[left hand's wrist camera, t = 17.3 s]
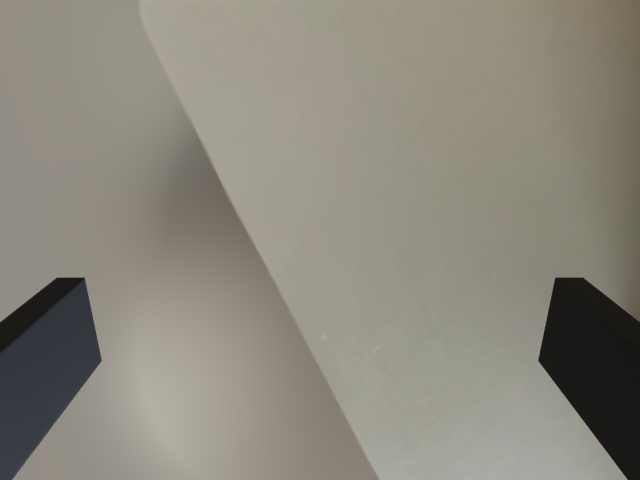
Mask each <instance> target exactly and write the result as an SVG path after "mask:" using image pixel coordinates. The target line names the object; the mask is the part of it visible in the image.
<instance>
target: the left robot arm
mask: <svg viewBox="0 0 640 480" xmlns="http://www.w3.org/2000/svg"><path fill="white" fill-rule="evenodd" d="M101 361H102V360H101V355H100V350H99V345H98V340H97V336H96V331H95V326H94V321H93V316H92V311H91V307H90V302H89V297H88V292H87V287H86V282H85V278H56V279H55V280H53V281H52V282H51V283H50V284H49V285H47V286H46V287H45V288H43V289H42V290H41V291H40V292H38V293H37V294H36V295H34V296H33V297H32V298H31V299H29V300H28V301H27V302H26V303H24V304H23V305H22V306H21V307H19V308H18V309H17V310H15V311H14V312H13V313H12V314H10V315H9V316H8V317H7V318H5V319H4V320H3V321H1V322H0V480H12V479H13V478H14V476H15V475H16V474H17V472H18V471H19V470H20V469H21V467H22V466H23V464H24V463H25V462H26V460H27V459H28V458H29V456H30V455H31V454H32V453H33V451H34V450H35V449H36V447H37V446H38V445H39V443H40V442H41V441H42V439H43V438H44V437H45V435H46V434H47V433H48V431H49V430H50V429H51V427H52V426H53V425H54V423H55V422H56V421H57V419H58V418H59V417H60V415H61V414H62V413H63V411H64V410H65V409H66V407H67V406H68V405H69V403H70V402H71V401H72V399H73V398H74V397H75V395H76V394H77V393H78V392H79V390H80V389H81V387H82V386H83V385H84V383H85V382H86V381H87V380H88V378H89V377H90V376H91V374H92V373H93V372H94V370H95V369H96V368H97V366H98V365H99V364H100V362H101ZM538 361H539V362H540V364H541V365H542V366H543V368H544V369H545V370H546V372H547V373H548V374H549V376H550V377H551V378H552V380H553V381H554V382H555V384H556V385H557V386H558V388H559V389H560V390H561V392H562V393H563V394H564V395H565V397H566V398H567V399H568V401H569V402H570V403H571V405H572V406H573V407H574V409H575V410H576V411H577V413H578V414H579V415H580V417H581V418H582V419H583V421H584V422H585V423H586V425H587V426H588V427H589V429H590V430H591V431H592V433H593V434H594V435H595V437H596V438H597V439H598V441H599V442H600V443H601V445H602V446H603V447H604V449H605V450H606V451H607V453H608V454H609V455H610V457H611V458H612V459H613V461H614V462H615V463H616V465H617V466H618V467H619V469H620V470H621V471H622V473H623V474H624V475H625V476H626V478H627V479H628V480H640V322H639V321H637V320H636V319H635V318H634V317H632V316H631V315H630V314H628V313H627V312H626V311H625V310H623V309H622V308H621V307H620V306H618V305H617V304H616V303H614V302H613V301H612V300H611V299H609V298H608V297H607V296H606V295H604V294H603V293H602V292H600V291H599V290H598V289H597V288H595V287H594V286H593V285H592V284H590V283H589V282H588V281H587V280H585V279H584V278H555V282H554V287H553V292H552V297H551V302H550V307H549V311H548V316H547V321H546V326H545V331H544V336H543V340H542V345H541V350H540V355H539V360H538Z"/></svg>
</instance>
